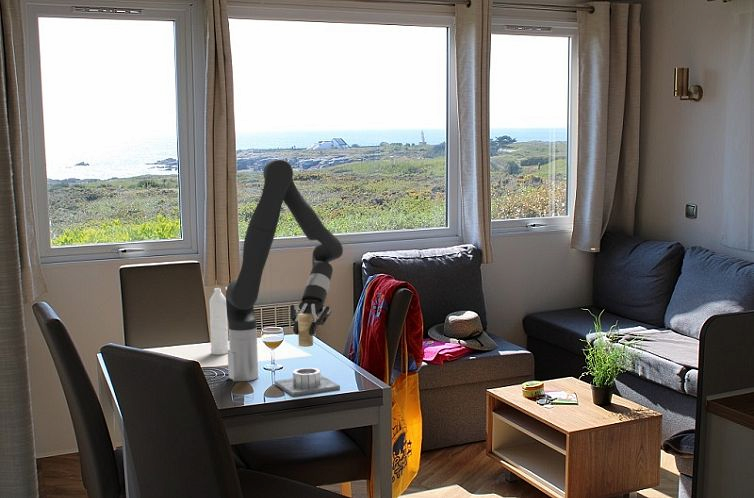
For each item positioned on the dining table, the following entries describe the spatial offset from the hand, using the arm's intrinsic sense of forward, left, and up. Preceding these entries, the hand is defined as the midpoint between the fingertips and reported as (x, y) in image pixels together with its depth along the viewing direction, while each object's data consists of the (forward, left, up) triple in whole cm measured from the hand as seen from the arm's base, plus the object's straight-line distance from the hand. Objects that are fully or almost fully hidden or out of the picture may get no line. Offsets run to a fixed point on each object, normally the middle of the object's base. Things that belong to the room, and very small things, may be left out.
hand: (303, 333), depth 277 cm
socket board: (+1, +1, -18) cm, 18 cm away
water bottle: (-8, +62, -18) cm, 65 cm away
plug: (+1, +1, -4) cm, 5 cm away
